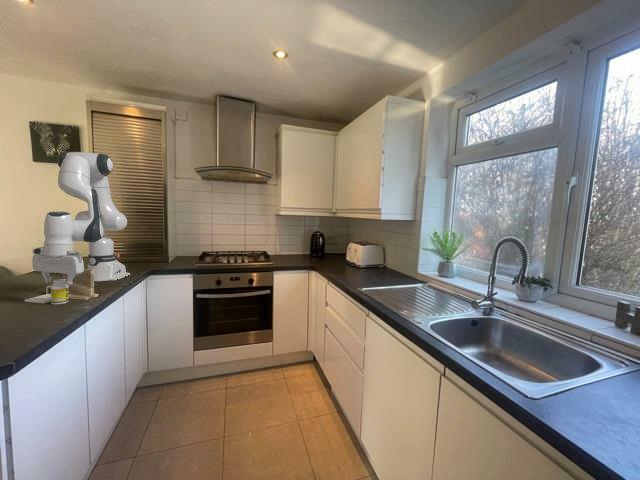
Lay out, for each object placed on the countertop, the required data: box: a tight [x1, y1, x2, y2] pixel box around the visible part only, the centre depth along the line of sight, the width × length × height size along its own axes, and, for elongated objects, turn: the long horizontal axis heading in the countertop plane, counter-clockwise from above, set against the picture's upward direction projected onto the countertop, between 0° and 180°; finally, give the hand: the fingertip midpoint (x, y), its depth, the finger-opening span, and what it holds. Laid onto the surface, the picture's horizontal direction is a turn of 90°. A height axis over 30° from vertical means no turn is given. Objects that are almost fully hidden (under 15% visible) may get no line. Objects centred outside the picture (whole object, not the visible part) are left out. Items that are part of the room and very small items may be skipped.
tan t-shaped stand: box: [61, 268, 99, 301], centre depth 124 cm, size 6×14×13 cm, turn 85°
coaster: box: [24, 294, 51, 304], centre depth 119 cm, size 9×9×1 cm
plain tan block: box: [45, 283, 54, 294], centre depth 127 cm, size 4×4×4 cm
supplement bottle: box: [50, 278, 69, 305], centre depth 116 cm, size 5×5×10 cm
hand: (58, 283), depth 115 cm, fingers open, 8 cm apart
